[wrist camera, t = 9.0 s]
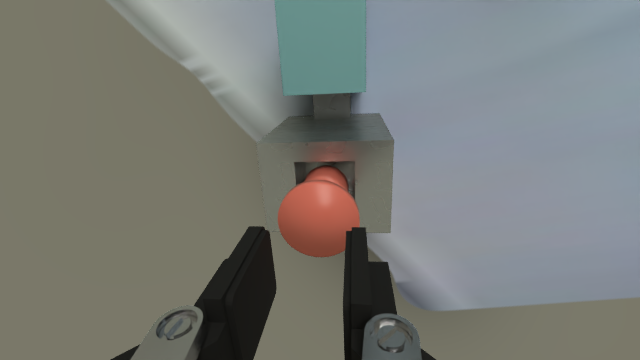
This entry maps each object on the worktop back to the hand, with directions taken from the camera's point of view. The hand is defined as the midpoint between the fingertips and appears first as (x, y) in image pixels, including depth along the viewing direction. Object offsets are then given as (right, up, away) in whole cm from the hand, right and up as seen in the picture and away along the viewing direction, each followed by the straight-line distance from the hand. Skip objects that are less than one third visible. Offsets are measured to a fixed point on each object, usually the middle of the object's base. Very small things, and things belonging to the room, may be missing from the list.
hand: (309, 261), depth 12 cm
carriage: (+1, +14, +13) cm, 19 cm away
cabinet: (+2, +6, +16) cm, 17 cm away
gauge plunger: (+1, +3, +7) cm, 8 cm away
